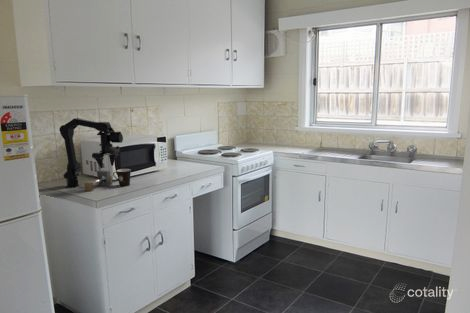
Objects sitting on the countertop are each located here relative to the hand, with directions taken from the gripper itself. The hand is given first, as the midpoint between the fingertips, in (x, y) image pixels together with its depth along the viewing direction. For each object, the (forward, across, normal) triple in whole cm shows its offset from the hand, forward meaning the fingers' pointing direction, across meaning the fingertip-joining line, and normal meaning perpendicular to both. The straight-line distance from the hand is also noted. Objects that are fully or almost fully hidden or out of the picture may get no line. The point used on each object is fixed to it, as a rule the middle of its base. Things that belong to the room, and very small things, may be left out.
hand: (107, 167), depth 228 cm
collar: (+13, +2, +5) cm, 14 cm away
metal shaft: (+13, -2, +5) cm, 14 cm away
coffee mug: (+13, +8, -5) cm, 16 cm away
